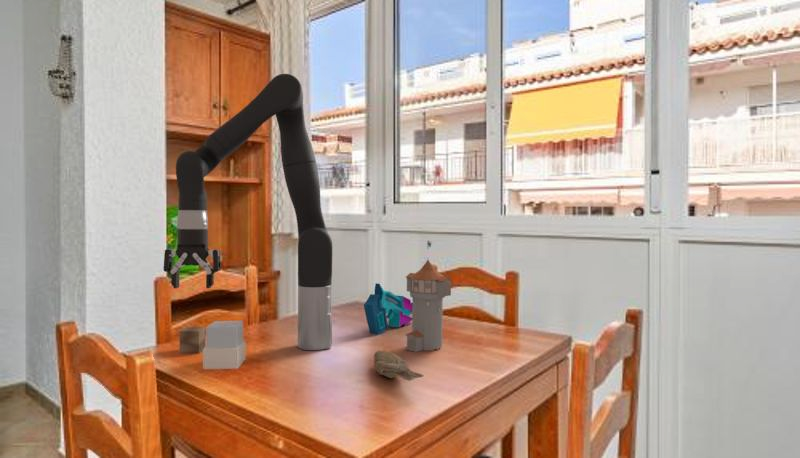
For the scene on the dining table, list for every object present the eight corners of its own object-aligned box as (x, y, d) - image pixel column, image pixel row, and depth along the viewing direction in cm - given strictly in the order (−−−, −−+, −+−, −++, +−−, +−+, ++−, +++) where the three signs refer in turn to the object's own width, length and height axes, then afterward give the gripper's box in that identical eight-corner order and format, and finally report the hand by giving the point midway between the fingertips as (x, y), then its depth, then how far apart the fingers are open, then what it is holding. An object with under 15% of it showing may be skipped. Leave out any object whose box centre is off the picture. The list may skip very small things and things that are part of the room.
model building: (457, 347, 140) (459, 240, 139) (430, 356, 131) (432, 242, 130) (420, 339, 149) (421, 239, 148) (392, 346, 141) (393, 240, 140)
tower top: (242, 340, 126) (242, 320, 126) (236, 347, 120) (236, 326, 119) (214, 340, 126) (214, 321, 126) (206, 348, 119) (206, 327, 119)
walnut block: (205, 348, 136) (205, 326, 136) (198, 353, 131) (198, 331, 131) (186, 348, 136) (186, 327, 136) (179, 353, 131) (179, 331, 131)
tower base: (245, 359, 127) (245, 340, 127) (237, 369, 119) (237, 348, 119) (213, 360, 126) (213, 340, 126) (203, 369, 118) (202, 349, 118)
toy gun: (408, 346, 168) (418, 303, 173) (367, 330, 148) (379, 282, 153) (398, 344, 171) (407, 302, 175) (356, 328, 151) (368, 280, 155)
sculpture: (402, 401, 99) (403, 376, 99) (362, 366, 122) (362, 346, 122) (430, 397, 101) (431, 372, 101) (385, 363, 124) (385, 343, 124)
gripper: (224, 227, 137) (223, 286, 137) (171, 226, 136) (171, 285, 137) (215, 228, 130) (215, 290, 130) (159, 227, 129) (159, 289, 129)
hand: (192, 287), depth 133 cm, fingers open, 8 cm apart
